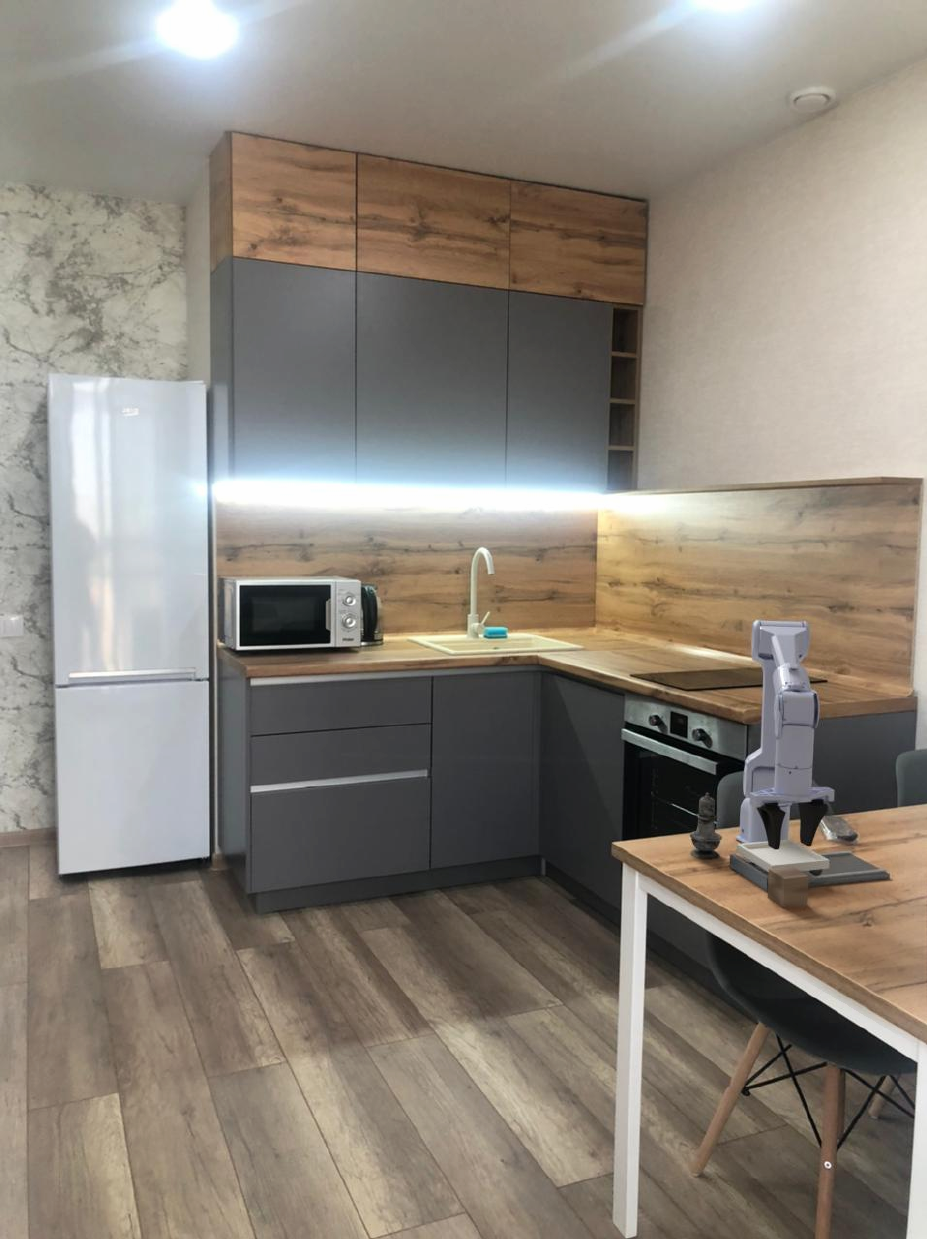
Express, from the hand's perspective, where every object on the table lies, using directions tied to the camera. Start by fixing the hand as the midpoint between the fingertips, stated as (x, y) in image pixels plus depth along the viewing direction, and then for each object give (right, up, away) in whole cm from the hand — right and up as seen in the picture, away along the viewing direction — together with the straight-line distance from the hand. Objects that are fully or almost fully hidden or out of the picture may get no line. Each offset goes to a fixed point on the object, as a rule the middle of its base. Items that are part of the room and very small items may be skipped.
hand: (789, 846), depth 164 cm
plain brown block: (0, -9, +1) cm, 10 cm away
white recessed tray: (+3, -7, +12) cm, 14 cm away
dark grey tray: (+8, -8, +14) cm, 18 cm away
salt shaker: (-8, -7, +23) cm, 25 cm away
